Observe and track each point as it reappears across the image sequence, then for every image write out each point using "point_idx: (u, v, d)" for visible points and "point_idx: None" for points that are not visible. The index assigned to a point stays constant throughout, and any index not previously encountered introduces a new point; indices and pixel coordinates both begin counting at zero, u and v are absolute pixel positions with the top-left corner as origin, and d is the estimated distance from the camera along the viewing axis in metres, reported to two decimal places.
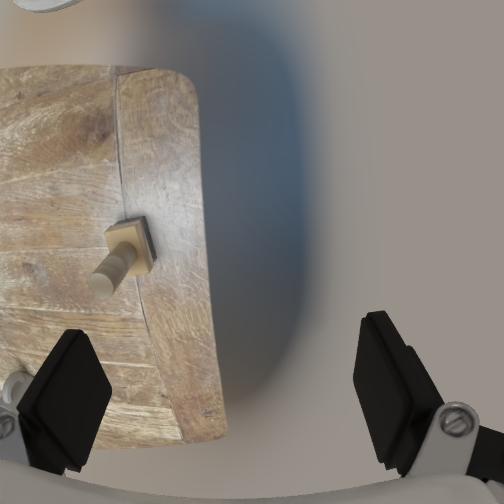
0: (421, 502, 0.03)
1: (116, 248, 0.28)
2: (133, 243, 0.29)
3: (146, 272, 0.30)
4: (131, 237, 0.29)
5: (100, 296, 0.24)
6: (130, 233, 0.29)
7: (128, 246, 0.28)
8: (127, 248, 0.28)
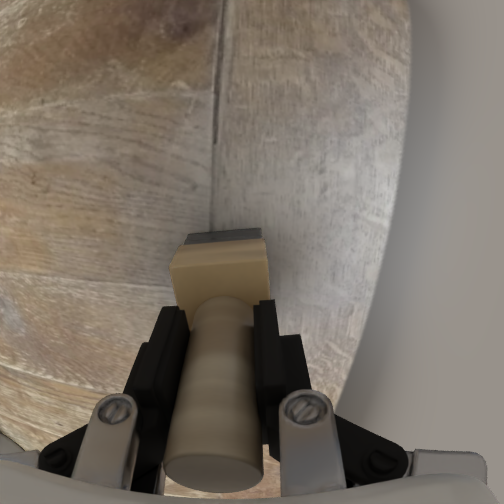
0: (421, 502, 0.03)
1: (217, 320, 0.10)
2: (252, 300, 0.12)
3: None
4: (250, 286, 0.11)
5: (204, 489, 0.06)
6: (250, 276, 0.11)
7: (244, 311, 0.11)
8: (245, 319, 0.11)
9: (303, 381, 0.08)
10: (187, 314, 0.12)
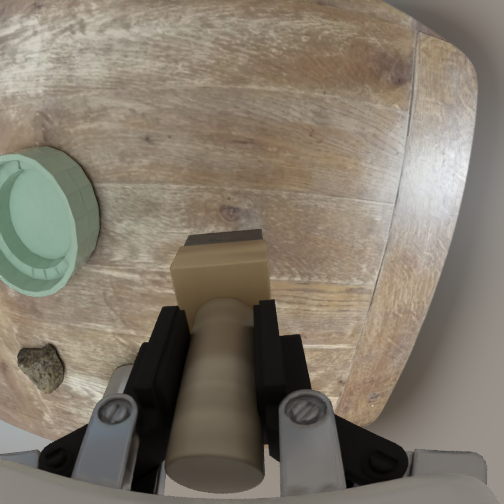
0: (421, 502, 0.03)
1: (218, 321, 0.10)
2: (252, 301, 0.12)
3: None
4: (251, 287, 0.11)
5: (205, 490, 0.06)
6: (251, 277, 0.11)
7: (245, 313, 0.11)
8: (246, 320, 0.11)
9: (303, 381, 0.08)
10: (188, 315, 0.12)
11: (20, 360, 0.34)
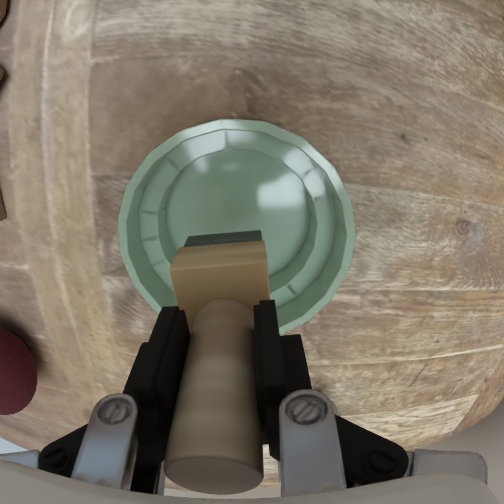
0: (421, 502, 0.03)
1: (217, 322, 0.10)
2: (252, 302, 0.12)
3: None
4: (250, 289, 0.11)
5: (204, 491, 0.06)
6: (250, 279, 0.11)
7: (244, 314, 0.11)
8: (245, 321, 0.11)
9: (303, 381, 0.08)
10: (187, 316, 0.12)
11: None
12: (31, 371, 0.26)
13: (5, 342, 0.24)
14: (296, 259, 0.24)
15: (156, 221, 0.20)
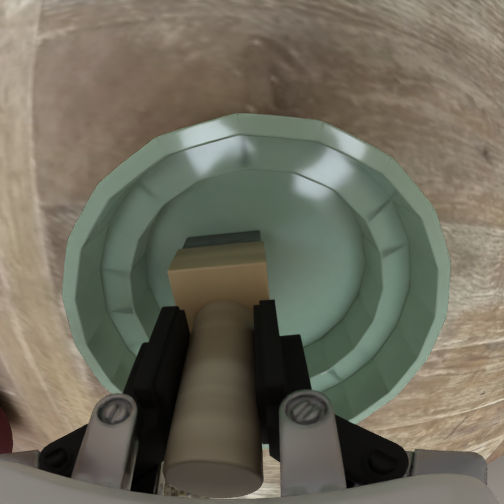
0: (421, 502, 0.03)
1: (216, 325, 0.10)
2: (251, 303, 0.12)
3: None
4: (249, 290, 0.11)
5: (204, 495, 0.06)
6: (249, 280, 0.11)
7: (244, 315, 0.11)
8: (245, 323, 0.11)
9: (303, 381, 0.08)
10: (187, 318, 0.12)
11: None
12: (3, 434, 0.18)
13: None
14: (340, 329, 0.16)
15: (128, 286, 0.12)
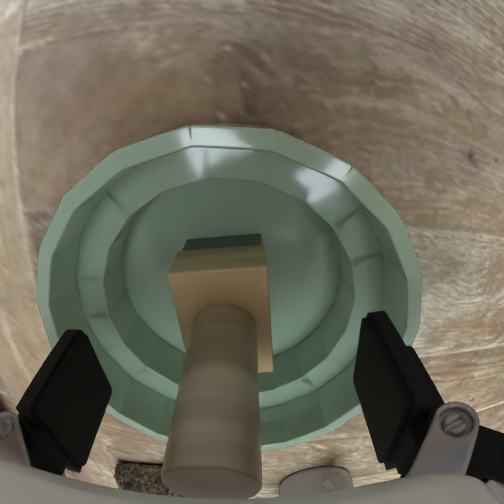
0: (421, 502, 0.03)
1: (216, 328, 0.10)
2: (251, 307, 0.12)
3: (267, 370, 0.13)
4: (250, 294, 0.11)
5: None
6: (249, 284, 0.11)
7: (243, 319, 0.11)
8: (244, 327, 0.11)
9: (433, 394, 0.07)
10: (186, 321, 0.12)
11: (125, 485, 0.21)
12: None
13: None
14: (316, 336, 0.16)
15: (102, 292, 0.12)
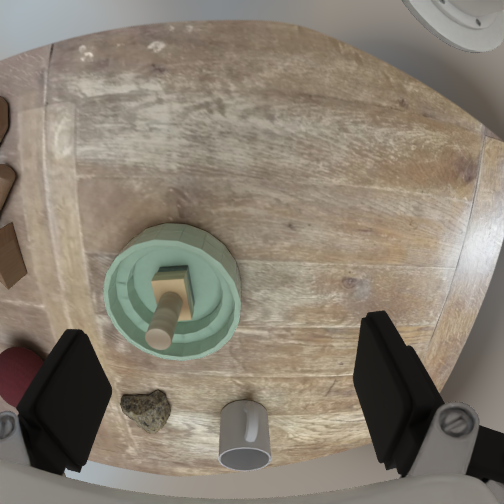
0: (421, 502, 0.03)
1: (165, 299, 0.30)
2: (180, 293, 0.32)
3: (189, 319, 0.33)
4: (179, 288, 0.32)
5: (156, 347, 0.27)
6: (178, 284, 0.32)
7: (176, 297, 0.31)
8: (176, 299, 0.31)
9: (433, 394, 0.07)
10: (157, 298, 0.32)
11: (127, 407, 0.41)
12: None
13: (27, 357, 0.36)
14: (216, 309, 0.36)
15: (126, 288, 0.33)
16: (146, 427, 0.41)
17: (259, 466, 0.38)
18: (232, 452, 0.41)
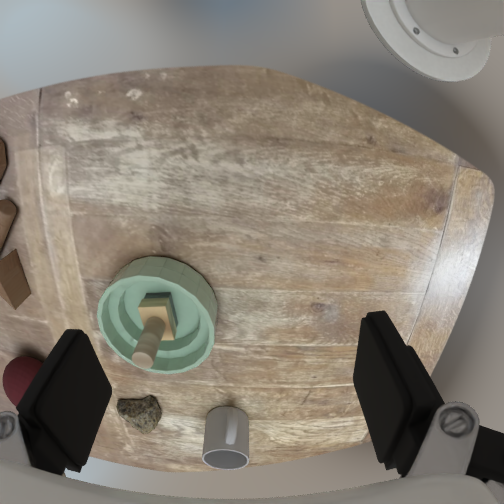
0: (421, 502, 0.03)
1: (150, 324, 0.34)
2: (162, 318, 0.36)
3: (172, 339, 0.37)
4: (161, 314, 0.36)
5: (141, 366, 0.31)
6: (161, 311, 0.36)
7: (159, 321, 0.35)
8: (159, 324, 0.35)
9: (433, 394, 0.07)
10: (144, 321, 0.36)
11: (122, 411, 0.45)
12: None
13: (33, 366, 0.41)
14: (196, 329, 0.40)
15: (117, 311, 0.37)
16: (139, 428, 0.45)
17: (239, 466, 0.43)
18: (216, 452, 0.45)
